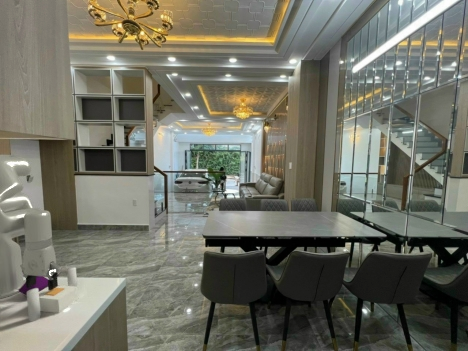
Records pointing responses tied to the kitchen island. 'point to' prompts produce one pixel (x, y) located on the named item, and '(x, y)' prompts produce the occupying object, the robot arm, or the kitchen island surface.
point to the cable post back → (72, 277)
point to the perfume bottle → (40, 284)
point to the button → (54, 291)
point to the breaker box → (58, 299)
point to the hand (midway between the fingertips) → (42, 287)
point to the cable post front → (33, 304)
